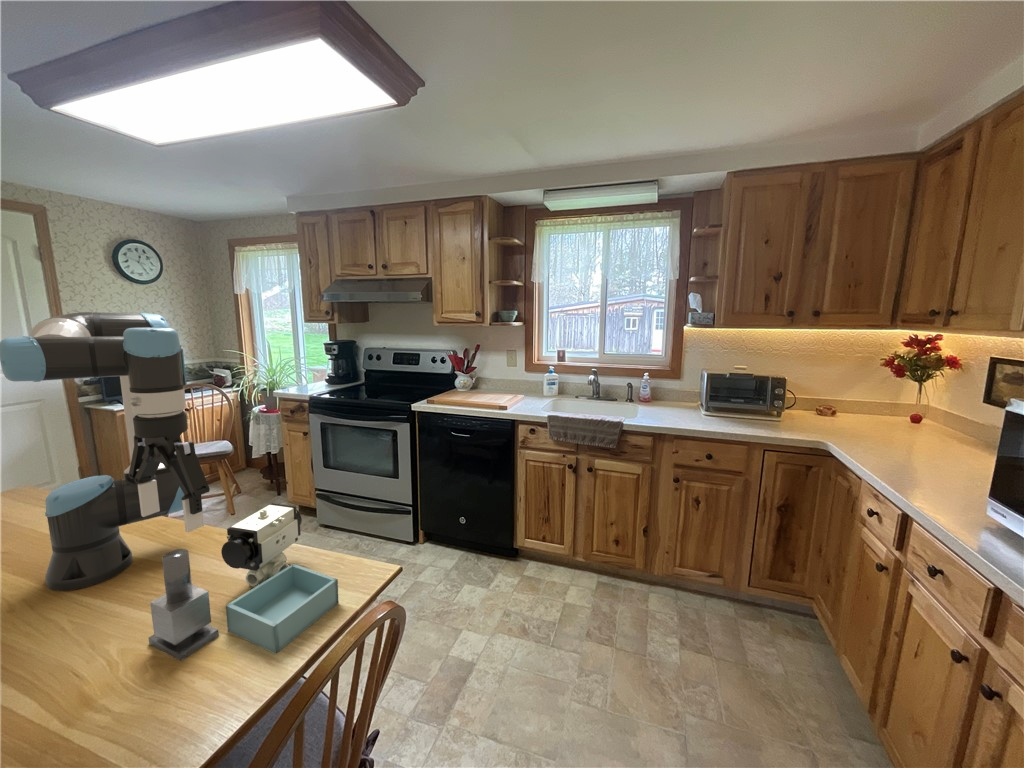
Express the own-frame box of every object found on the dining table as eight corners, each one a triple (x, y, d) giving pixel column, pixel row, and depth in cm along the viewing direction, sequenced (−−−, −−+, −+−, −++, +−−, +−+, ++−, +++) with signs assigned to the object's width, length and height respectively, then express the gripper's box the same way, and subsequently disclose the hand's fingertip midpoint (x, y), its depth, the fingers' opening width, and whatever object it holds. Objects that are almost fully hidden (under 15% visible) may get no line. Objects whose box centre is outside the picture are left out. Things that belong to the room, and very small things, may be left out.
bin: (227, 631, 85) (225, 605, 84) (294, 586, 100) (293, 563, 99) (275, 654, 80) (273, 626, 79) (338, 602, 95) (337, 579, 94)
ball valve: (255, 603, 94) (250, 531, 91) (224, 597, 95) (217, 526, 92) (309, 559, 111) (306, 497, 108) (281, 554, 113) (277, 493, 110)
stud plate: (149, 644, 81) (144, 604, 80) (188, 620, 88) (184, 583, 86) (180, 661, 78) (176, 620, 76) (218, 635, 84) (215, 597, 83)
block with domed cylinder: (154, 634, 81) (144, 559, 78) (190, 612, 87) (183, 542, 84) (174, 645, 78) (166, 568, 76) (211, 622, 84) (204, 550, 82)
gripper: (96, 409, 76) (110, 515, 80) (179, 426, 67) (192, 545, 71) (144, 402, 83) (155, 500, 87) (226, 416, 74) (235, 526, 77)
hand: (172, 521), depth 79 cm, fingers open, 13 cm apart
